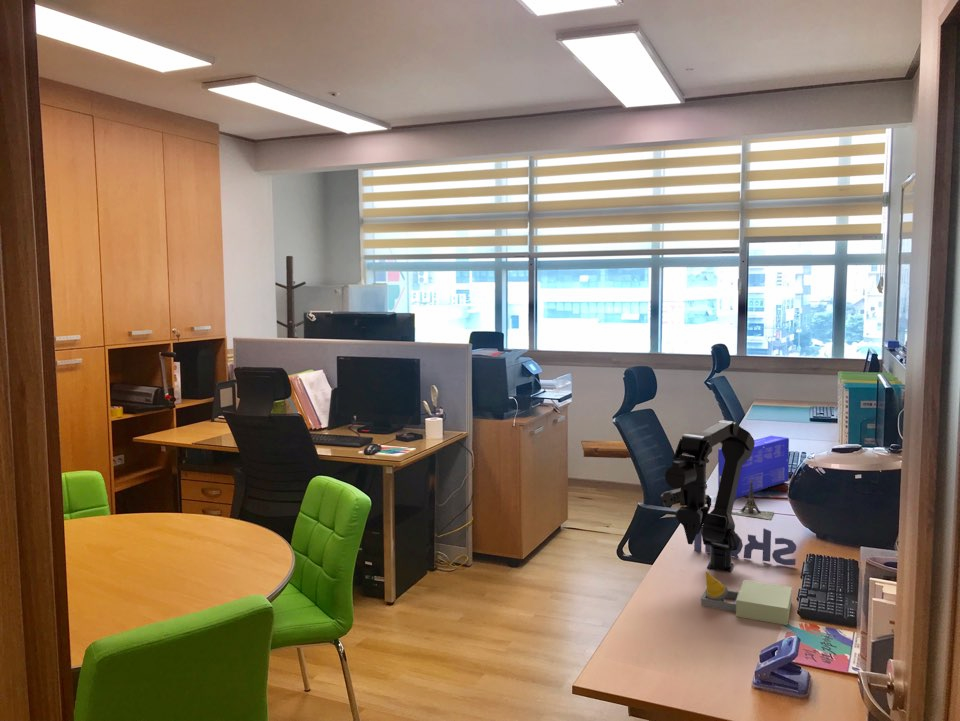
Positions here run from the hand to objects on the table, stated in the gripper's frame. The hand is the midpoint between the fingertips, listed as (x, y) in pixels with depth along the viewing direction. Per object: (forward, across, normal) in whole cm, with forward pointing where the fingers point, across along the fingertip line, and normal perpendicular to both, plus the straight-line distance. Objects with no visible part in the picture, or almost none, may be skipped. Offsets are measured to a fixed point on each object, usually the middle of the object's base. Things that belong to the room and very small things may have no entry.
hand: (693, 538), depth 198 cm
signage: (+12, -25, +10) cm, 30 cm away
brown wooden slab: (+13, -144, -67) cm, 160 cm away
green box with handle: (+12, +10, +9) cm, 18 cm away
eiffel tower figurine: (+13, -74, +6) cm, 75 cm away
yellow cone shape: (+12, +10, +9) cm, 18 cm away
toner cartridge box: (+12, -110, +4) cm, 111 cm away
